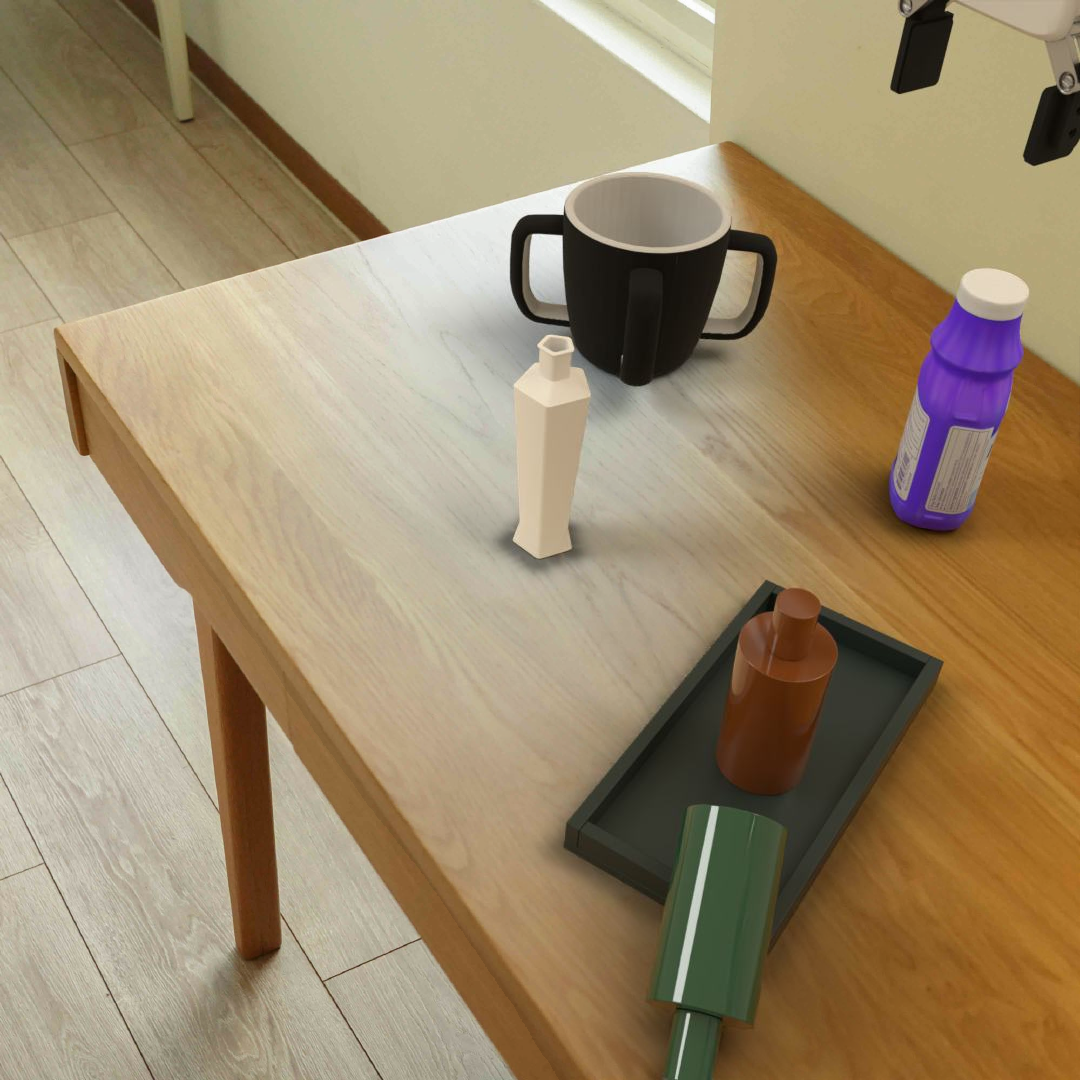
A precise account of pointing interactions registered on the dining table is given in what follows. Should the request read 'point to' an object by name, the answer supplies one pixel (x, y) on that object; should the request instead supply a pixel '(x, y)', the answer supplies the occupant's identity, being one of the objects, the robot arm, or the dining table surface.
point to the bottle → (959, 402)
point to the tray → (695, 779)
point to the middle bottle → (776, 695)
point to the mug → (641, 271)
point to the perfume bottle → (549, 446)
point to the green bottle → (715, 932)
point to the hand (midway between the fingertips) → (977, 122)
